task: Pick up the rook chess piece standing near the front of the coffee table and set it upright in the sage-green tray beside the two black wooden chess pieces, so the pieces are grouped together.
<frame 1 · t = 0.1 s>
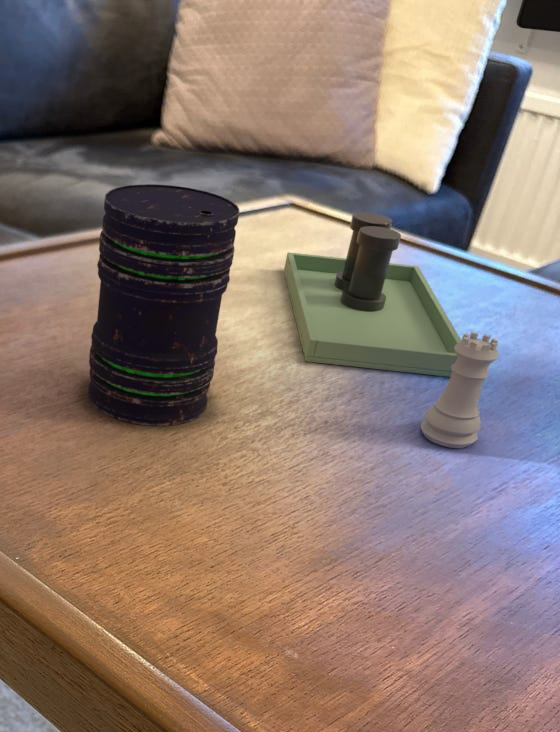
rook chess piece: (446, 439, 78), on the table
piece tray: (364, 319, 97), on the table
black piece a: (361, 303, 99), resting on piece tray
dark barrel: (146, 400, 79), on the table
black piece b: (355, 287, 103), resting on piece tray
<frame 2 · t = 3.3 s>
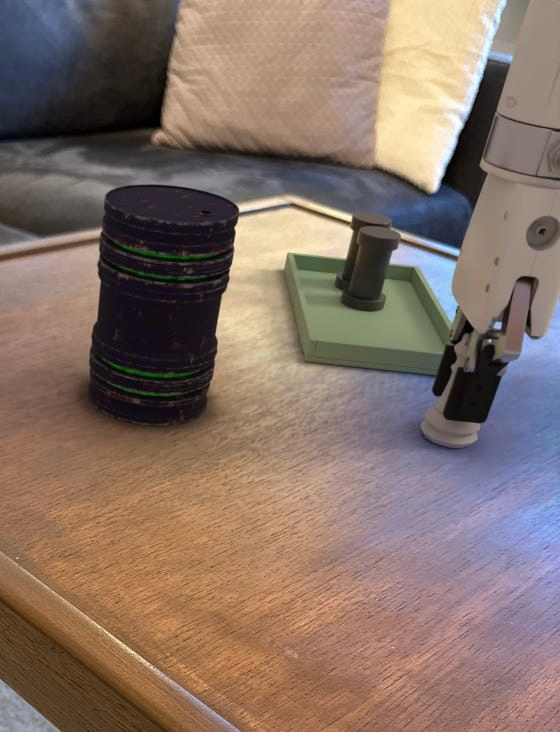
hand: (457, 405, 76), 3 cm above the table, tool pointing down, fingers closed on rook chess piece, 3 cm apart
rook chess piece: (446, 438, 78), on the table, touching gripper
everything else where it was.
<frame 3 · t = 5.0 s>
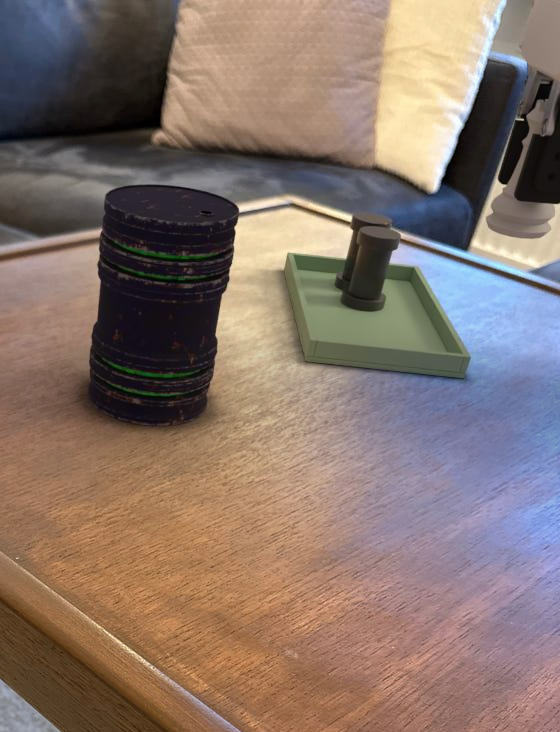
hand: (529, 190, 67), 18 cm above the table, tool pointing down, fingers closed on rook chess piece, 3 cm apart
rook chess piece: (514, 233, 69), point 15 cm above the table, touching gripper
everything else where it was.
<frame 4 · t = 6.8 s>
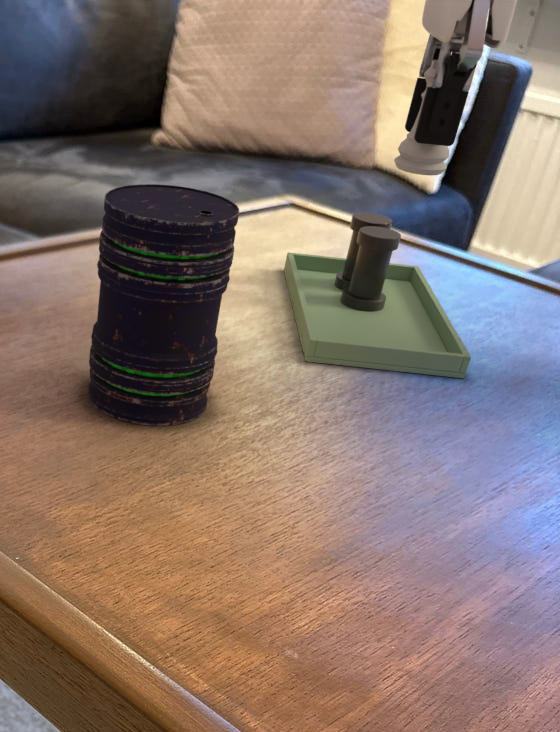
hand: (428, 135, 82), 18 cm above the table, tool pointing down, fingers closed on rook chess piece, 3 cm apart
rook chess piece: (418, 172, 84), point 15 cm above the table, touching gripper
everything else where it was.
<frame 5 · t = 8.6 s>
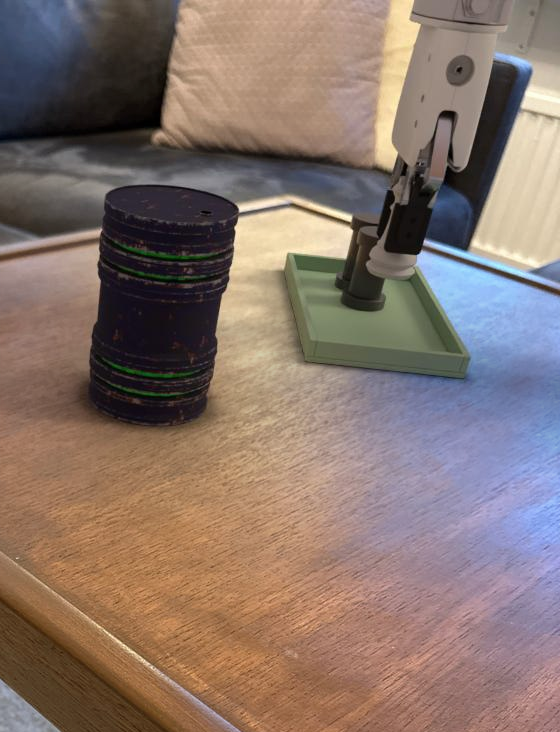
hand: (397, 243, 88), 9 cm above the table, tool pointing down, fingers closed on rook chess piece, 3 cm apart
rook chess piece: (388, 275, 90), point 6 cm above the table, touching gripper
everything else where it was.
when the fingers open (3 cm above the table, at t = 10.2 s): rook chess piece stays where it is, resting on piece tray.
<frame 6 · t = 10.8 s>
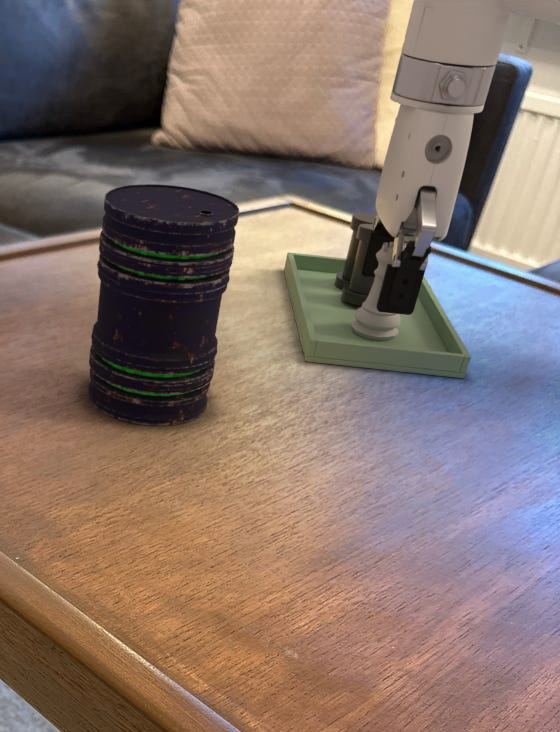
hand: (385, 293, 91), 4 cm above the table, tool pointing down, fingers open, 9 cm apart
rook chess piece: (373, 334, 93), resting on piece tray
black piece a: (362, 301, 99), point 1 cm above the table, tilted 6°, touching gripper, piece tray
everything else where it was.
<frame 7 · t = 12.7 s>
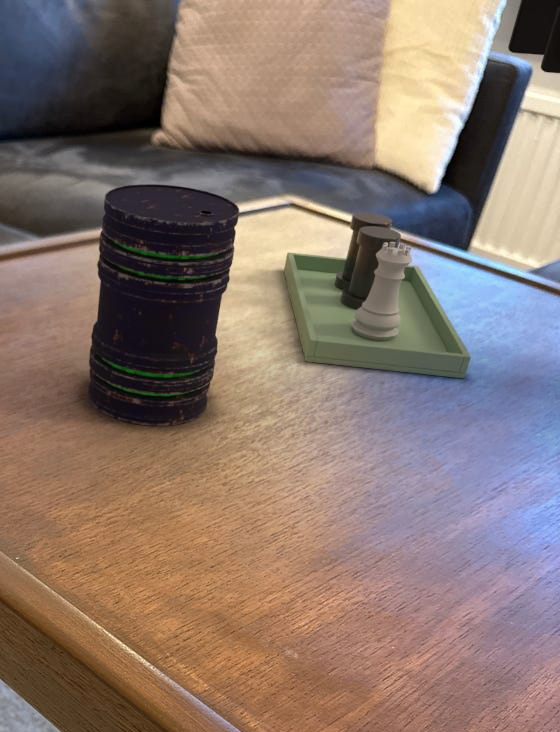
hand: (544, 62, 76), 24 cm above the table, tool pointing down, fingers open, 9 cm apart
black piece a: (361, 303, 99), resting on piece tray
everything else where it was.
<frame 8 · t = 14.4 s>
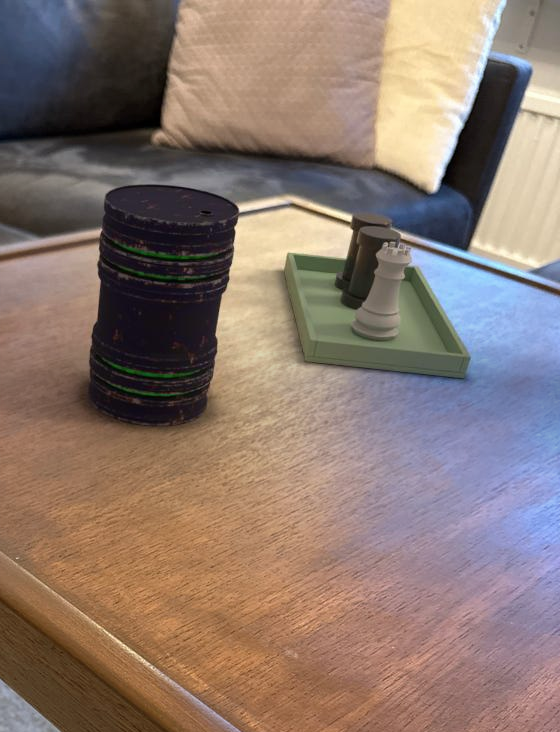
nothing on the table moved.
at the end: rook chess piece inside the target area in the piece tray (0.0 cm from its centre), point 0.3 cm above the piece tray's base; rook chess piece tilted 0° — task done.
